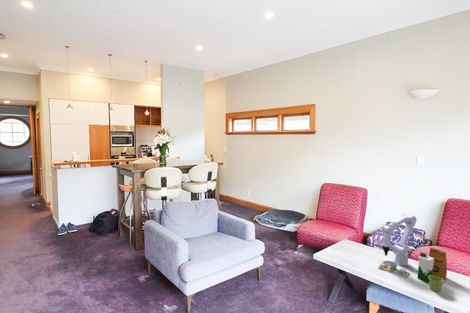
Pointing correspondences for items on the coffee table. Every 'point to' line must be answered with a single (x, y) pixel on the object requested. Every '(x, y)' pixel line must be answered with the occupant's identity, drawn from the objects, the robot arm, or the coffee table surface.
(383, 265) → the button terracotta
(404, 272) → the button sage
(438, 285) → the plant pot
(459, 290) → the coffee table surface
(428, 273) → the milk carton
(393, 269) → the button grey
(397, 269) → the button panel
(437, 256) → the coffee package
